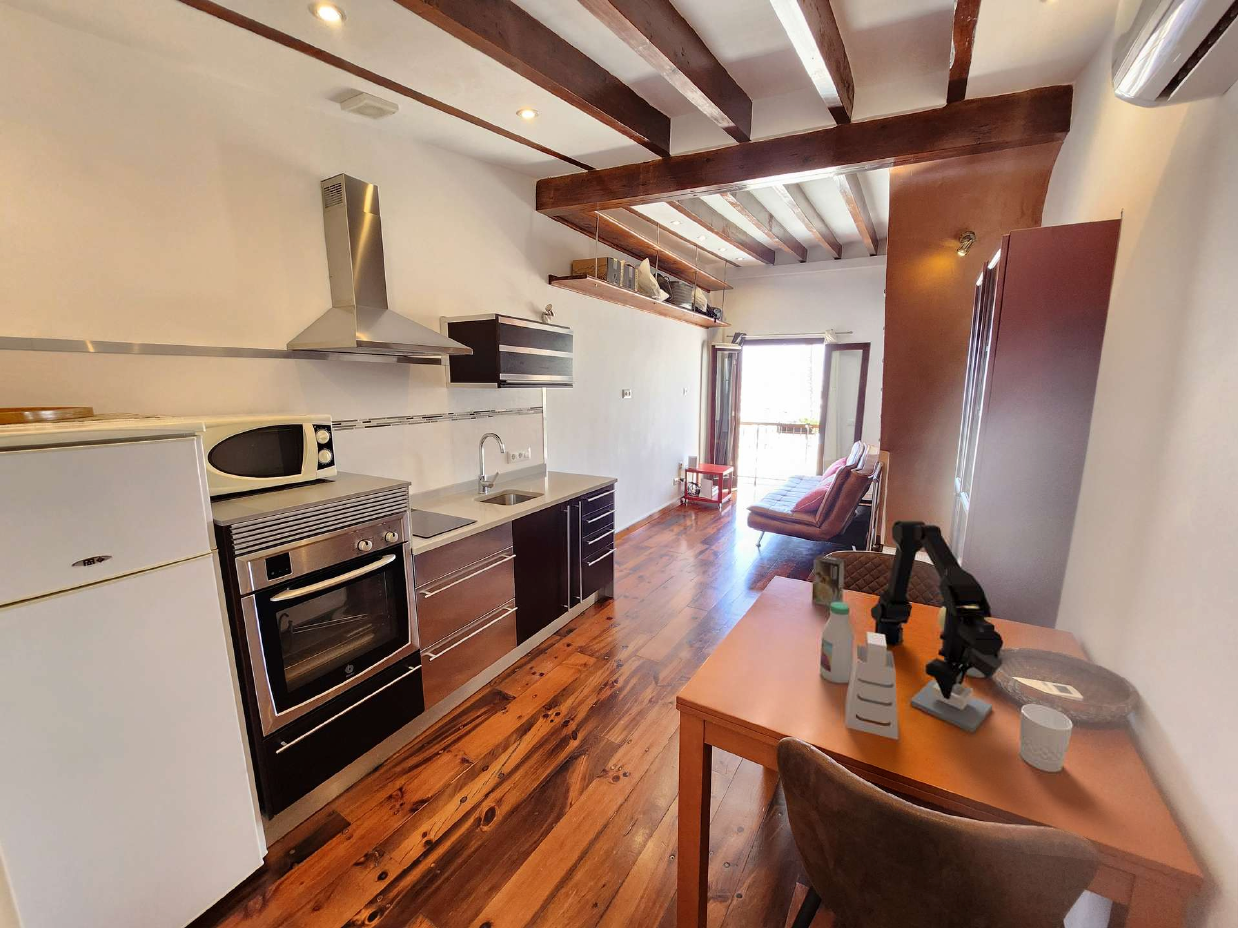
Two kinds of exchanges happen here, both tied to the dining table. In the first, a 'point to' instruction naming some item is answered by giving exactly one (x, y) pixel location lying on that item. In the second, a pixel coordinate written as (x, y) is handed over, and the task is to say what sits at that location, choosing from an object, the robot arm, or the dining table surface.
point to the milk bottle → (837, 645)
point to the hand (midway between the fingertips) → (951, 692)
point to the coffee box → (827, 580)
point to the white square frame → (954, 696)
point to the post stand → (952, 708)
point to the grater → (873, 688)
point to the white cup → (1044, 737)
